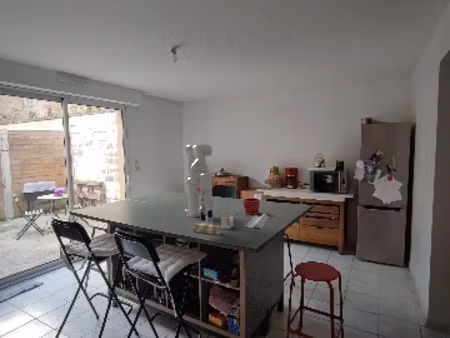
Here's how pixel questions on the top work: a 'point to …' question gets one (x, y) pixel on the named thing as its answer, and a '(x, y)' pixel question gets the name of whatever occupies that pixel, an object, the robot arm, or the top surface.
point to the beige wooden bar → (207, 228)
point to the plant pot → (251, 206)
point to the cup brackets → (225, 221)
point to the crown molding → (257, 221)
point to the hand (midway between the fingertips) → (206, 219)
